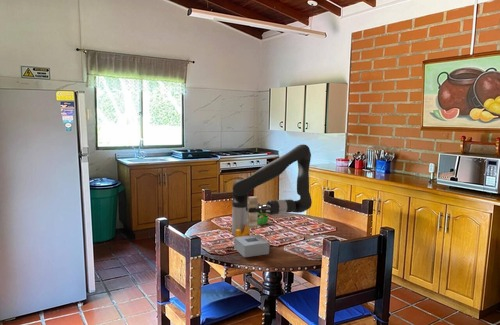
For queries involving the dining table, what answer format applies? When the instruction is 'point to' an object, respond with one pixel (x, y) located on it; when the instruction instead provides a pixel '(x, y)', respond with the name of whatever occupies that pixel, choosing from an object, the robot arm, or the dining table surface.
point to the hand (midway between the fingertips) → (247, 209)
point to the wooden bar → (252, 216)
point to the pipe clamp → (245, 232)
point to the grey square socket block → (251, 245)
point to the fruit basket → (262, 218)
